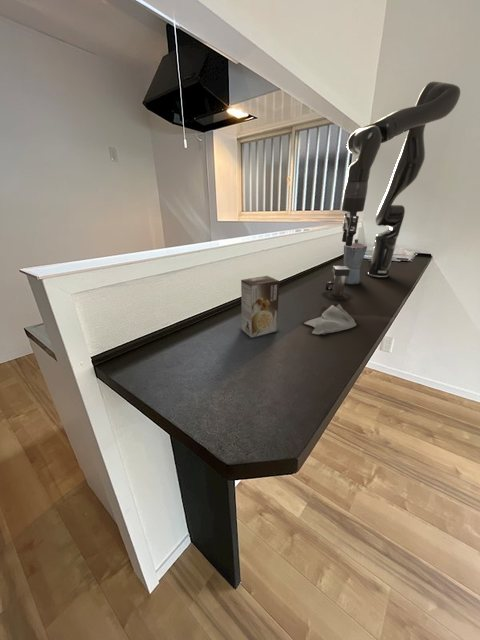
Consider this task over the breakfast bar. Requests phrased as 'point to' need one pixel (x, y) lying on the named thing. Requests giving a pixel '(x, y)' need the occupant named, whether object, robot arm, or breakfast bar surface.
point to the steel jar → (338, 280)
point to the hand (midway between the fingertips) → (346, 243)
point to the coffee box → (259, 305)
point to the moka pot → (354, 261)
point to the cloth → (332, 321)
